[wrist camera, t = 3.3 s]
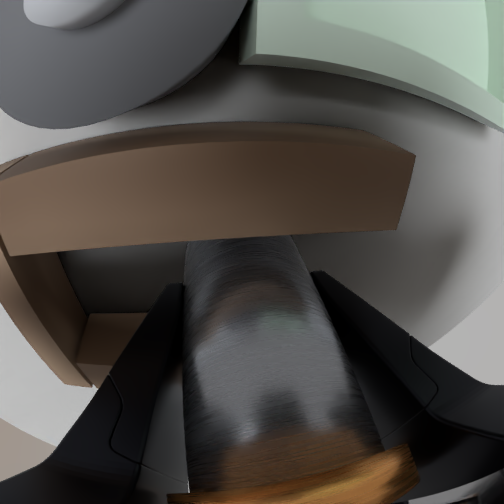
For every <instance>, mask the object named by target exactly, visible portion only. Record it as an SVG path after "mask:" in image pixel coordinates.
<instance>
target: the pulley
mask: <svg viewBox="0 0 504 504" xmlns="http://www.w3.org/2000/svg"><path fill="white" fill-rule="evenodd" d="M246 2H247V0H0V108H1V109H2V110H3V111H4V112H5V113H7V114H8V115H10V116H11V117H12V118H14V119H16V120H18V121H20V122H22V123H24V124H27V125H31V126H35V127H38V128H47V129H68V128H75V127H81V126H87V125H90V124H94V123H97V122H101V121H104V120H107V119H110V118H112V117H114V116H117V115H119V114H122V113H125V112H127V111H130V110H132V109H135V108H137V107H140V106H143V105H145V104H148V103H151V102H153V101H155V100H158V99H160V98H162V97H164V96H166V95H168V94H170V93H171V92H173V91H175V90H177V89H178V88H180V87H181V86H183V85H184V84H186V83H187V82H188V81H190V80H191V79H193V78H194V77H195V76H196V75H197V74H198V73H200V72H201V71H202V70H203V69H204V68H205V67H206V66H207V65H208V64H209V63H210V62H211V61H212V60H213V59H214V58H215V56H216V55H217V54H218V53H219V51H220V50H221V49H222V48H223V46H224V44H225V43H226V41H227V39H228V38H229V36H230V35H231V33H232V30H233V28H234V26H235V24H236V22H237V20H238V18H239V16H240V15H241V13H242V11H243V8H244V6H245V4H246Z"/></svg>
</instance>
